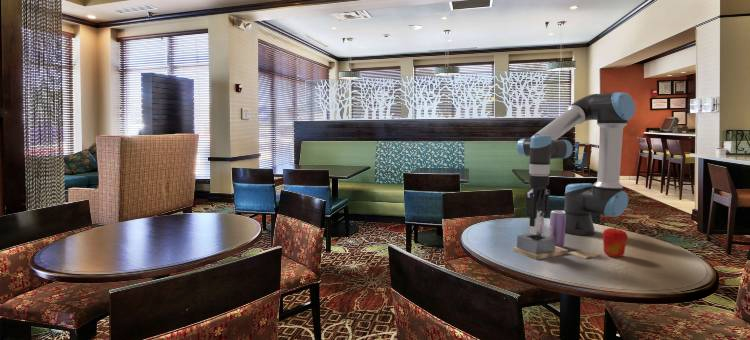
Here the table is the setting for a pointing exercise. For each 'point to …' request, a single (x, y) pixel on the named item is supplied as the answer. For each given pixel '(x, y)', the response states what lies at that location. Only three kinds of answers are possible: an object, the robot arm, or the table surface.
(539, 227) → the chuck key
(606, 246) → the apple
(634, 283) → the table surface
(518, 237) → the socket block
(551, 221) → the beverage can
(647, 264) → the table surface
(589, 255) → the cork coaster
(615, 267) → the table surface
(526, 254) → the oak board
